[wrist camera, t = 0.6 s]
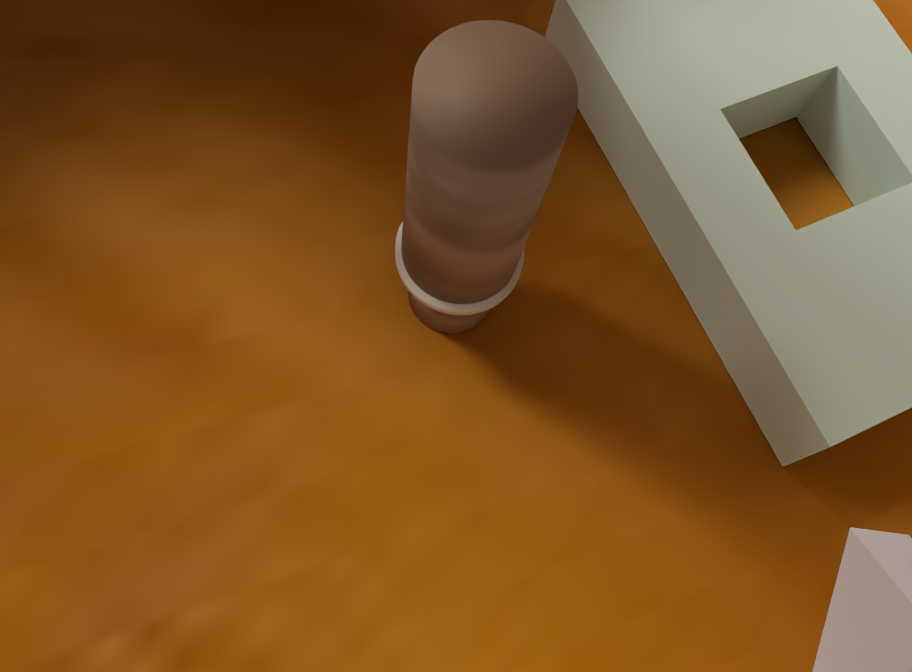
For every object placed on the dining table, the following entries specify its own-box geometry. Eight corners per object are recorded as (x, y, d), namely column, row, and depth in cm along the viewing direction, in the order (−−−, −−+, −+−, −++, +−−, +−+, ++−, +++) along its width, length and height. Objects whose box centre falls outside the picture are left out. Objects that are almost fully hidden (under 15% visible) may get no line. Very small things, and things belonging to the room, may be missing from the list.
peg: (374, 265, 33) (374, 43, 21) (477, 226, 34) (536, -8, 21) (421, 366, 32) (450, 194, 19) (526, 322, 33) (618, 133, 20)
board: (542, 45, 37) (558, -13, 34) (771, -31, 39) (807, -92, 36) (782, 467, 32) (830, 446, 28) (1029, 347, 34) (1099, 316, 31)
